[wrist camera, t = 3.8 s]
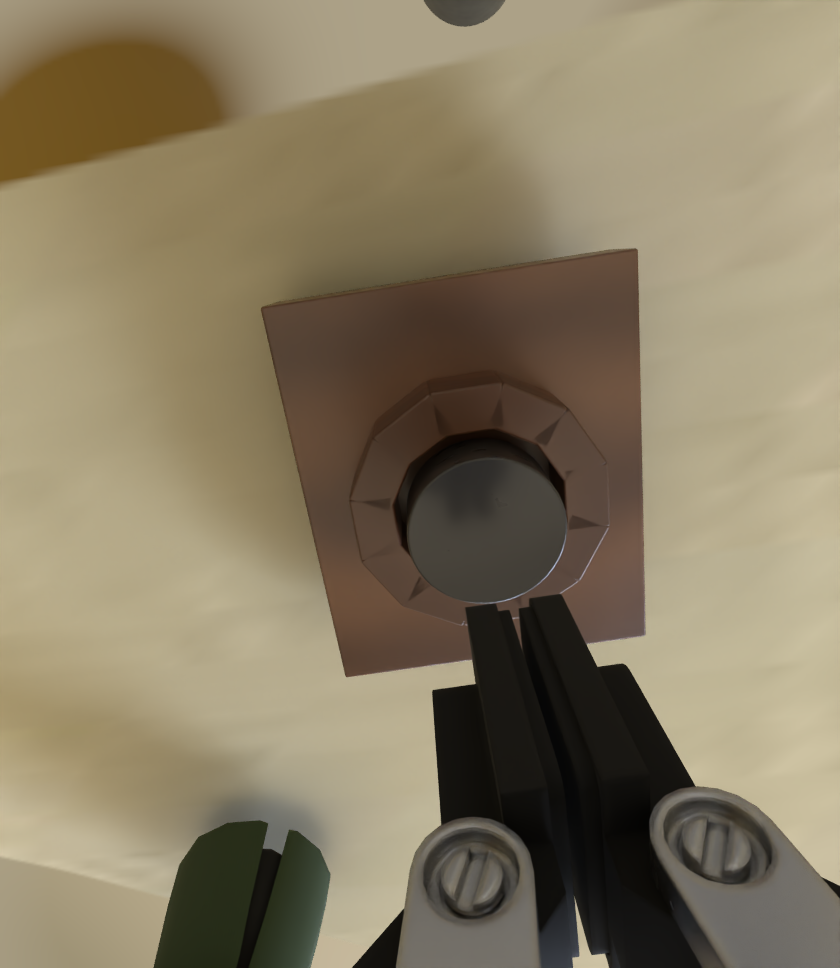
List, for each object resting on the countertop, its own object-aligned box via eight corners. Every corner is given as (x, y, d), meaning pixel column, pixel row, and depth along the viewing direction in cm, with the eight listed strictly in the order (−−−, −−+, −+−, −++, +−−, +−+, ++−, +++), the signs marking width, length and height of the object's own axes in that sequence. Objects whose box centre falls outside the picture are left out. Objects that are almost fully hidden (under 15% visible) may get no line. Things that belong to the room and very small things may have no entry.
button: (395, 449, 16) (395, 470, 14) (546, 427, 16) (562, 446, 14) (417, 581, 17) (419, 614, 16) (556, 561, 17) (572, 593, 16)
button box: (276, 301, 18) (242, 313, 14) (611, 249, 18) (666, 246, 14) (350, 639, 22) (340, 716, 18) (623, 601, 22) (668, 671, 18)
